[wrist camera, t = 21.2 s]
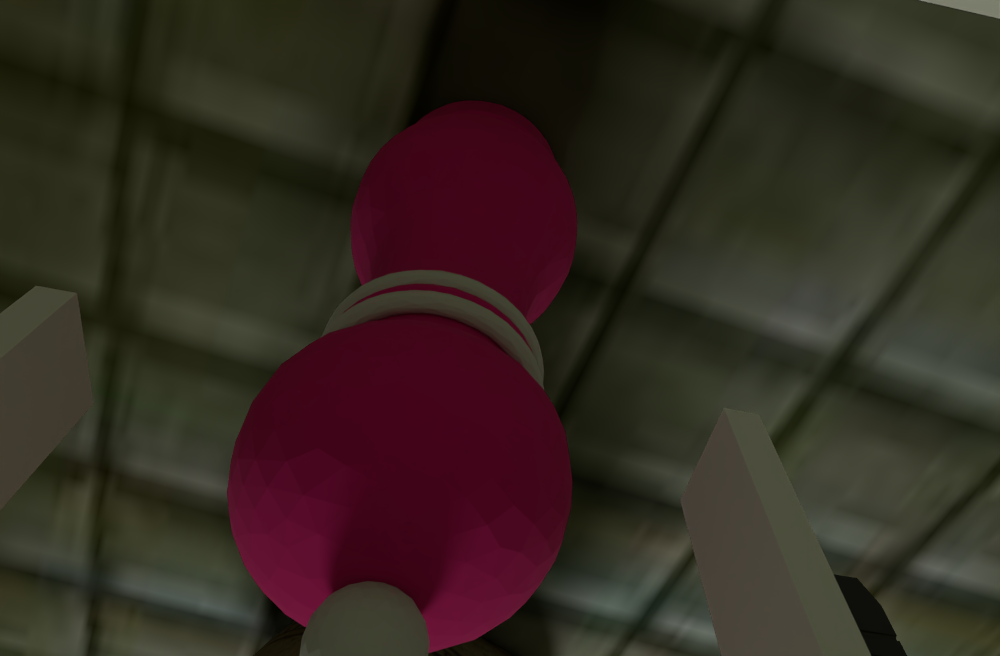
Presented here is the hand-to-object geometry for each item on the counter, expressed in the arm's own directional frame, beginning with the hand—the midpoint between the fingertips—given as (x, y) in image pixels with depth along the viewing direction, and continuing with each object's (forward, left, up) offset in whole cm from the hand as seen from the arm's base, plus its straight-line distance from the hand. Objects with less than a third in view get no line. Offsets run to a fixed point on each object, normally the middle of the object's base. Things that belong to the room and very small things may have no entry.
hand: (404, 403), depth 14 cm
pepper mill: (0, 0, -14) cm, 14 cm away
